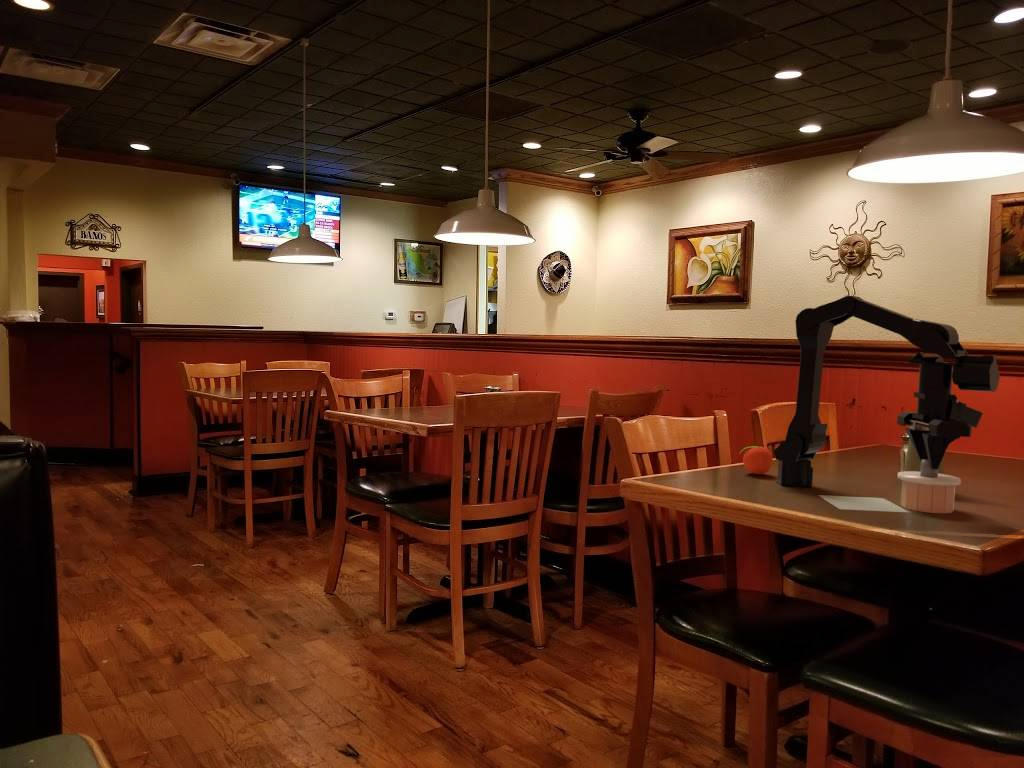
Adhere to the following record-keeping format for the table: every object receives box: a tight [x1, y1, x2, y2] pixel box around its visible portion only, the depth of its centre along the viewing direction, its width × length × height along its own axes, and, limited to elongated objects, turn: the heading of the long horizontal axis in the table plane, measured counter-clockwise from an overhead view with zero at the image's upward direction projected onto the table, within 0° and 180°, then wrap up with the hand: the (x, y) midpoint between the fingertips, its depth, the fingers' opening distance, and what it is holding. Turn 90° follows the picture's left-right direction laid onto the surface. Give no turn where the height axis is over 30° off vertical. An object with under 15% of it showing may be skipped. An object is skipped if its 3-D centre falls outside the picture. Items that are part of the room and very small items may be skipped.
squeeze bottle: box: [903, 438, 945, 474], centre depth 175 cm, size 8×8×18 cm
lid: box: [897, 459, 962, 487], centre depth 152 cm, size 11×11×4 cm
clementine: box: [739, 445, 774, 476], centre depth 188 cm, size 8×7×7 cm
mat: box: [818, 494, 911, 514], centre depth 154 cm, size 13×13×1 cm
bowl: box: [900, 480, 956, 514], centre depth 152 cm, size 9×9×6 cm
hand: (929, 467), depth 152 cm, fingers open, 4 cm apart
